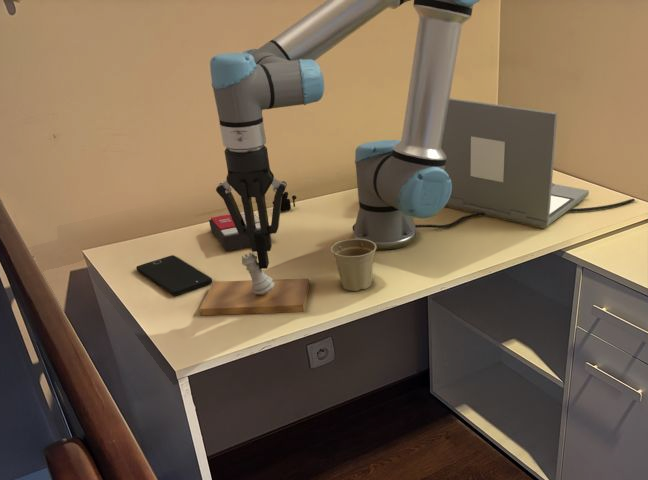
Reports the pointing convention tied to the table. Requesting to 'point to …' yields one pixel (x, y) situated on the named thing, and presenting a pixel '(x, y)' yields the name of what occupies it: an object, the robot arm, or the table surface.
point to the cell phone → (174, 275)
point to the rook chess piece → (257, 275)
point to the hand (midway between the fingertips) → (264, 265)
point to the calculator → (231, 232)
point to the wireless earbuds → (286, 202)
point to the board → (255, 297)
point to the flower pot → (354, 262)
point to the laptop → (504, 163)
